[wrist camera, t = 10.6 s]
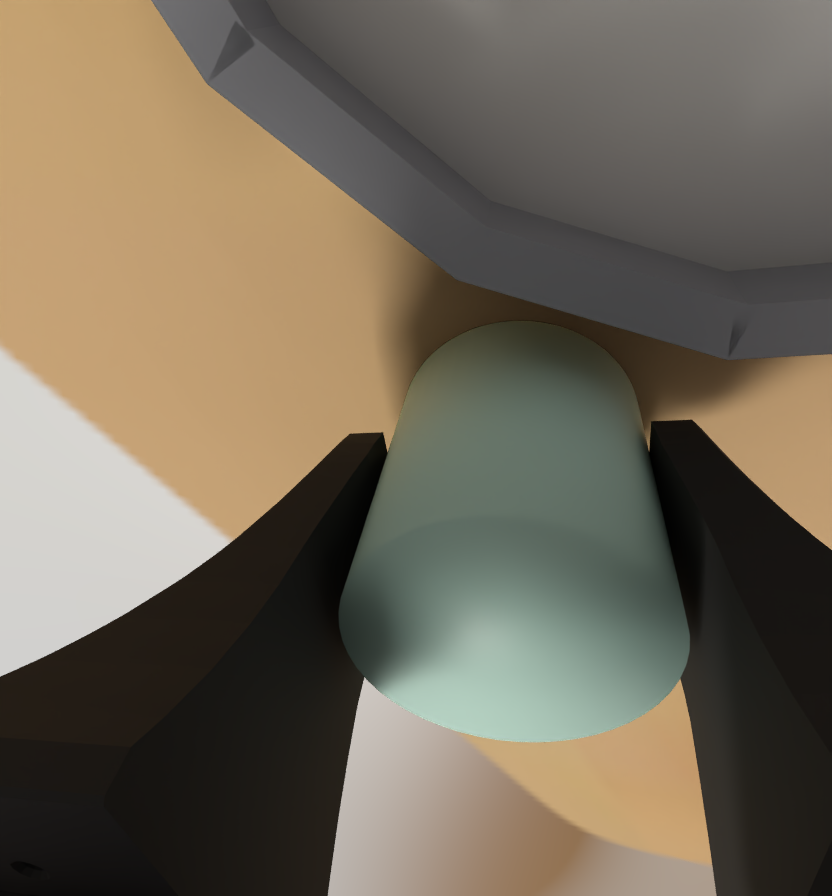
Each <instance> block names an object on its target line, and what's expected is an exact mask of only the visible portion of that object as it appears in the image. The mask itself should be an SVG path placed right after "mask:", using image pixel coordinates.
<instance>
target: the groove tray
mask: <svg viewBox="0 0 832 896" xmlns="http://www.w3.org/2000/svg"><path fill="white" fill-rule="evenodd" d="M151 1H152V2H153V4H154V5H155V7H156V8H157V10H158V11H159V13H160V14H161V16H162V17H163V19H164V20H165V22H166V23H167V25H168V26H169V28H170V29H171V31H172V32H173V34H174V35H175V37H176V38H177V40H178V41H179V43H180V44H181V46H182V47H183V49H184V50H185V52H186V53H187V55H188V56H189V58H190V59H191V61H192V62H193V64H194V65H195V67H196V68H197V70H198V71H199V73H200V74H201V76H202V77H203V79H204V80H205V82H206V83H207V84H208V85H209V86H210V87H212V88H213V89H214V90H215V91H217V92H218V93H219V94H220V95H222V96H223V97H224V98H226V99H227V100H228V101H229V102H231V103H232V104H233V105H234V106H236V107H237V108H238V109H240V110H241V111H242V112H243V113H245V114H246V115H247V116H249V117H250V118H251V119H252V120H254V121H255V122H256V123H257V124H259V125H260V126H261V127H263V128H264V129H265V130H266V131H268V132H269V133H270V134H271V135H273V136H274V137H275V138H277V139H278V140H279V141H280V142H282V143H283V144H284V145H285V146H287V147H288V148H289V149H291V150H292V151H293V152H294V153H296V154H297V155H298V156H299V157H301V158H302V159H303V160H305V161H306V162H307V163H308V164H310V165H311V166H312V167H313V168H315V169H316V170H317V171H319V172H320V173H321V174H322V175H324V176H325V177H326V178H327V179H329V180H330V181H331V182H333V183H334V184H335V185H336V186H338V187H339V188H340V189H341V190H343V191H344V192H345V193H347V194H348V195H349V196H350V197H352V198H353V199H354V200H355V201H357V202H358V203H359V204H361V205H362V206H363V207H364V208H366V209H367V210H368V211H369V212H371V213H372V214H373V215H375V216H376V217H377V218H378V219H380V220H381V221H382V222H383V223H385V224H386V225H387V226H389V227H390V228H391V229H392V230H394V231H395V232H396V233H397V234H399V235H400V236H401V237H403V238H404V239H405V240H406V241H408V242H409V243H410V244H411V245H413V246H414V247H415V248H417V249H418V250H419V251H420V252H422V253H423V254H424V255H425V256H427V257H428V258H429V259H431V260H432V261H433V262H434V263H436V264H437V265H438V266H439V267H441V268H442V269H443V270H445V271H446V272H447V273H448V274H450V275H451V276H452V277H453V278H455V279H456V280H458V281H462V282H465V283H469V284H472V285H475V286H479V287H482V288H486V289H489V290H492V291H496V292H499V293H502V294H506V295H509V296H513V297H516V298H519V299H523V300H526V301H529V302H533V303H536V304H540V305H543V306H546V307H550V308H553V309H556V310H560V311H563V312H567V313H570V314H573V315H577V316H580V317H584V318H587V319H590V320H594V321H597V322H600V323H604V324H607V325H611V326H614V327H617V328H621V329H624V330H627V331H631V332H634V333H638V334H641V335H644V336H648V337H651V338H654V339H658V340H661V341H665V342H668V343H671V344H675V345H678V346H681V347H685V348H688V349H692V350H695V351H698V352H702V353H705V354H709V355H712V356H715V357H719V358H722V359H725V360H738V359H755V358H772V357H789V356H806V355H823V354H832V0H151Z"/></svg>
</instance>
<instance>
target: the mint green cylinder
mask: <svg viewBox="0 0 832 896" xmlns="http://www.w3.org/2000/svg"><path fill="white" fill-rule="evenodd" d="M338 614H339V628H340V632H341V637H342V641H343V643H344V645H345V648H346V650H347V652H348V655H349V656H350V658H351V659H352V661H353V663H354V664H355V666H356V667H357V669H358V670H359V671H360V672H361V673H362V675H363V676H364V677H365V678H366V679H367V680H368V681H369V682H370V683H371V684H372V685H373V686H374V687H375V688H376V689H377V690H378V691H380V692H381V693H382V694H384V695H385V696H386V697H387V698H389V699H390V700H391V701H393V702H394V703H396V704H398V705H399V706H401V707H402V708H404V709H406V710H407V711H409V712H411V713H413V714H415V715H417V716H419V717H421V718H423V719H425V720H428V721H430V722H433V723H435V724H437V725H440V726H443V727H446V728H449V729H452V730H455V731H458V732H462V733H466V734H470V735H474V736H478V737H484V738H490V739H496V740H504V741H515V742H553V741H563V740H571V739H578V738H583V737H587V736H592V735H596V734H600V733H603V732H606V731H609V730H612V729H615V728H617V727H620V726H622V725H625V724H627V723H629V722H631V721H633V720H635V719H637V718H638V717H640V716H642V715H644V714H645V713H647V712H648V711H650V710H651V709H652V708H654V707H655V706H656V705H658V704H659V703H660V702H661V701H662V700H663V699H664V698H665V697H666V696H667V695H668V694H669V693H670V692H671V691H672V689H673V688H674V687H675V685H676V684H677V682H678V681H679V680H680V678H681V675H682V673H683V671H684V669H685V667H686V664H687V660H688V656H689V651H690V633H689V628H688V623H687V618H686V614H685V609H684V605H683V601H682V596H681V592H680V587H679V583H678V578H677V574H676V570H675V565H674V561H673V556H672V552H671V547H670V543H669V539H668V534H667V530H666V525H665V521H664V516H663V512H662V508H661V503H660V499H659V494H658V490H657V485H656V481H655V476H654V472H653V468H652V463H651V459H650V454H649V450H648V445H647V441H646V437H645V432H644V428H643V423H642V419H641V414H640V410H639V406H638V401H637V397H636V394H635V391H634V389H633V386H632V383H631V382H630V380H629V378H628V376H627V375H626V373H625V371H624V370H623V369H622V367H621V366H620V365H619V364H618V362H617V361H616V360H615V359H614V358H613V357H612V356H611V355H610V354H609V353H608V352H607V351H606V350H604V349H603V348H602V347H600V346H599V345H598V344H596V343H595V342H593V341H592V340H590V339H588V338H587V337H585V336H583V335H581V334H579V333H577V332H574V331H572V330H569V329H566V328H563V327H561V326H557V325H552V324H548V323H543V322H534V321H506V322H499V323H492V324H488V325H484V326H481V327H477V328H474V329H472V330H469V331H467V332H464V333H462V334H460V335H458V336H456V337H455V338H453V339H451V340H449V341H448V342H446V343H445V344H444V345H442V346H441V347H440V348H438V349H437V350H436V351H435V352H434V353H433V354H432V355H431V356H430V357H429V358H428V359H427V360H425V362H424V363H423V364H422V366H421V367H420V368H419V370H418V371H417V373H416V375H415V376H414V378H413V380H412V382H411V384H410V387H409V389H408V392H407V395H406V398H405V401H404V404H403V407H402V410H401V413H400V417H399V420H398V423H397V426H396V429H395V432H394V435H393V438H392V441H391V444H390V447H389V451H388V454H387V457H386V460H385V463H384V466H383V469H382V472H381V475H380V478H379V481H378V485H377V488H376V491H375V494H374V497H373V500H372V503H371V506H370V509H369V512H368V515H367V518H366V522H365V525H364V528H363V531H362V534H361V537H360V540H359V543H358V546H357V549H356V552H355V556H354V559H353V562H352V565H351V568H350V571H349V574H348V577H347V580H346V583H345V586H344V590H343V593H342V596H341V599H340V606H339V612H338Z"/></svg>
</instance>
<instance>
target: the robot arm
mask: <svg viewBox="0 0 832 896" xmlns="http://www.w3.org/2000/svg"><path fill="white" fill-rule="evenodd" d="M387 454H388V453H387V448H386V444H385V439H384V435H383V432H382V433H358V434H349V435H348V436H347V437H346V438H345V439H344V440H342V441H341V442H340V443H339V444H338V445H337V446H336V447H335V448H334V449H333V450H332V451H331V452H330V453H329V454H328V455H327V456H326V457H325V458H324V459H323V460H322V461H321V462H320V463H319V464H318V465H317V466H316V467H315V468H314V469H313V470H312V471H311V472H310V473H309V474H308V475H306V476H305V477H304V478H303V479H302V480H301V481H300V482H299V483H298V484H297V485H296V486H295V487H294V488H293V489H292V490H291V491H290V492H289V493H288V494H287V495H285V496H284V497H283V498H282V499H281V500H280V501H279V502H278V503H277V504H276V505H274V506H273V507H272V508H271V509H270V510H269V511H268V512H266V513H265V514H264V515H263V516H262V517H261V518H259V519H258V520H257V521H256V522H255V523H254V524H253V525H251V526H250V527H249V528H248V529H247V530H246V531H244V532H243V533H242V534H241V535H240V536H239V537H237V538H236V539H235V540H234V541H232V542H231V543H230V544H229V545H227V546H226V547H225V548H223V549H222V550H221V551H220V552H218V553H217V554H216V555H214V556H213V557H212V558H210V559H209V560H207V561H206V562H205V563H203V564H202V565H201V566H199V567H198V568H196V569H195V570H193V571H192V572H191V573H189V574H188V575H187V576H185V577H183V578H182V579H181V580H179V581H177V582H176V583H174V584H173V585H171V586H170V587H168V588H167V589H165V590H163V591H162V592H160V593H158V594H157V595H155V596H153V597H152V598H150V599H149V600H147V601H146V602H144V603H142V604H141V605H139V606H137V607H136V608H134V609H133V610H131V611H130V612H128V613H126V614H124V615H123V616H121V617H119V618H117V619H116V620H114V621H112V622H110V623H108V624H107V625H105V626H103V627H101V628H99V629H97V630H96V631H94V632H92V633H90V634H88V635H86V636H84V637H82V638H81V639H79V640H77V641H75V642H73V643H71V644H69V645H67V646H65V647H63V648H61V649H59V650H57V651H55V652H53V653H51V654H49V655H47V656H45V657H43V658H41V659H39V660H37V661H34V662H32V663H30V664H28V665H25V666H23V667H21V668H19V669H17V670H14V671H12V672H10V673H8V674H6V675H3V676H1V677H0V896H328V887H329V881H330V873H331V866H332V859H333V852H334V844H335V838H336V830H337V823H338V816H339V810H340V804H341V797H342V791H343V785H344V779H345V773H346V766H347V760H348V755H349V749H350V744H351V738H352V733H353V727H354V722H355V716H356V710H357V705H358V701H359V697H360V692H361V689H362V684H363V680H364V676H363V675H362V673H361V672H360V671H359V670H358V669H357V667H356V666H355V664H354V663H353V661H352V659H351V658H350V656H349V655H348V652H347V650H346V648H345V645H344V643H343V641H342V637H341V632H340V628H339V614H338V612H339V606H340V599H341V596H342V593H343V590H344V586H345V583H346V580H347V577H348V574H349V571H350V568H351V565H352V562H353V559H354V556H355V552H356V549H357V546H358V543H359V540H360V537H361V534H362V531H363V528H364V525H365V522H366V518H367V515H368V512H369V509H370V506H371V503H372V500H373V497H374V494H375V491H376V488H377V485H378V481H379V478H380V475H381V472H382V469H383V466H384V463H385V460H386V457H387ZM649 454H650V459H651V463H652V468H653V472H654V476H655V481H656V485H657V490H658V494H659V499H660V503H661V508H662V512H663V516H664V521H665V525H666V530H667V534H668V539H669V543H670V547H671V552H672V556H673V561H674V565H675V570H676V574H677V578H678V583H679V587H680V592H681V596H682V601H683V605H684V609H685V614H686V618H687V623H688V628H689V633H690V651H689V656H688V660H687V664H686V667H685V669H684V671H683V673H682V675H681V678H680V679H681V682H682V686H683V690H684V694H685V698H686V703H687V707H688V712H689V716H690V721H691V727H692V733H693V739H694V746H695V752H696V758H697V764H698V771H699V777H700V783H701V790H702V797H703V803H704V810H705V817H706V824H707V830H708V837H709V844H710V851H711V858H712V865H713V872H714V880H715V887H716V894H717V896H832V550H831V549H830V548H828V547H827V546H826V545H824V544H823V543H822V542H821V541H819V540H818V539H817V538H816V537H814V536H813V535H812V534H811V533H809V532H808V531H807V530H806V529H805V528H803V527H802V526H801V525H800V524H799V523H797V522H796V521H795V520H794V519H793V518H791V517H790V516H789V515H788V514H787V513H786V512H785V511H784V510H782V509H781V508H780V507H779V506H778V505H777V504H776V503H775V502H774V501H773V500H771V499H770V498H769V497H768V496H767V495H766V494H765V493H764V492H763V491H762V490H761V489H760V488H759V487H758V486H757V485H756V484H754V483H753V482H752V481H751V480H750V479H749V478H748V477H747V476H746V475H745V474H744V473H743V472H742V471H741V470H740V469H739V468H738V467H737V466H736V465H735V464H734V463H733V462H732V461H731V460H730V459H729V458H728V457H727V456H726V455H725V453H724V452H723V451H722V450H721V449H720V448H719V447H718V446H717V445H716V444H715V443H714V442H713V441H712V440H711V439H710V438H709V436H708V435H707V434H706V433H705V432H704V431H703V430H702V429H701V428H700V427H699V426H698V425H697V424H696V423H695V422H694V421H693V420H675V421H651V434H650V450H649Z"/></svg>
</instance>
